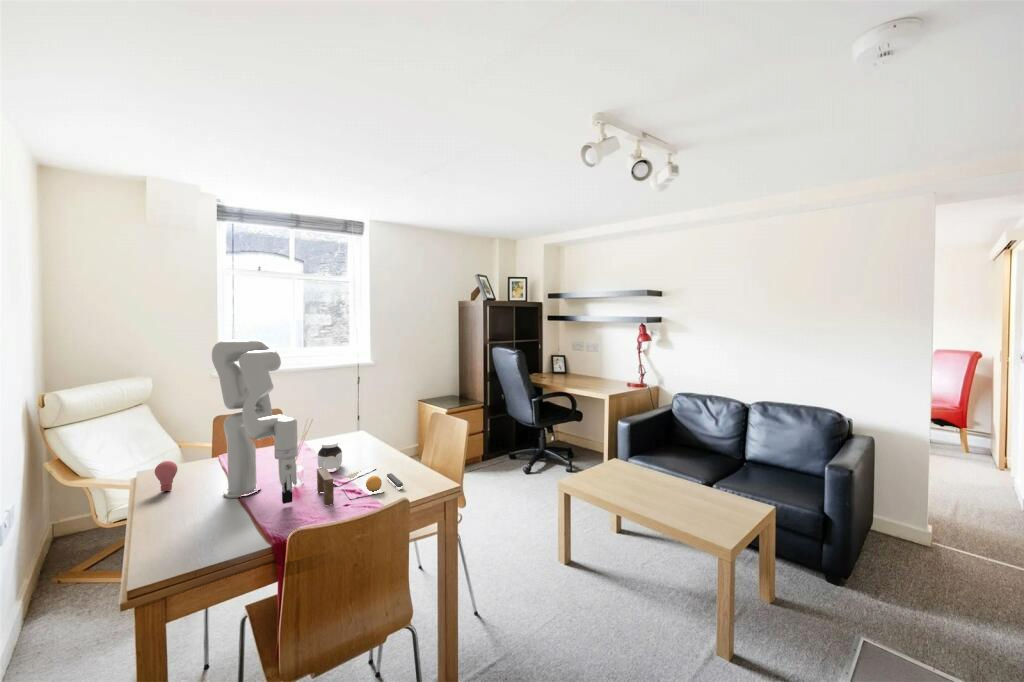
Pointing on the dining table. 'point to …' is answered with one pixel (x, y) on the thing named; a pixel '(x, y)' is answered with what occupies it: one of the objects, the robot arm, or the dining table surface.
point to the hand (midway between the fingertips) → (287, 502)
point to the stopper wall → (395, 480)
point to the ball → (373, 483)
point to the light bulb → (166, 474)
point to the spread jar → (330, 455)
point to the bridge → (325, 485)
